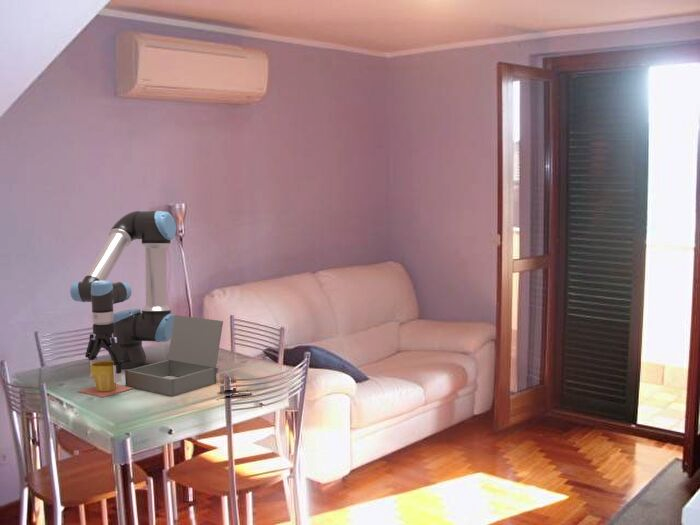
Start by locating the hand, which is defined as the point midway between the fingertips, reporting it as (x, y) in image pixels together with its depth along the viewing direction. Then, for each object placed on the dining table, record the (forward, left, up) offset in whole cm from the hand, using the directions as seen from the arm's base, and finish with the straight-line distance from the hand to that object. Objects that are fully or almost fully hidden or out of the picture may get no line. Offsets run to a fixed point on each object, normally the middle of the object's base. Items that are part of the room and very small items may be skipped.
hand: (105, 379), depth 290 cm
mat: (0, 0, -4) cm, 4 cm away
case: (+14, +19, -4) cm, 24 cm away
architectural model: (+39, +24, -5) cm, 46 cm away
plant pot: (0, 0, -4) cm, 4 cm away
